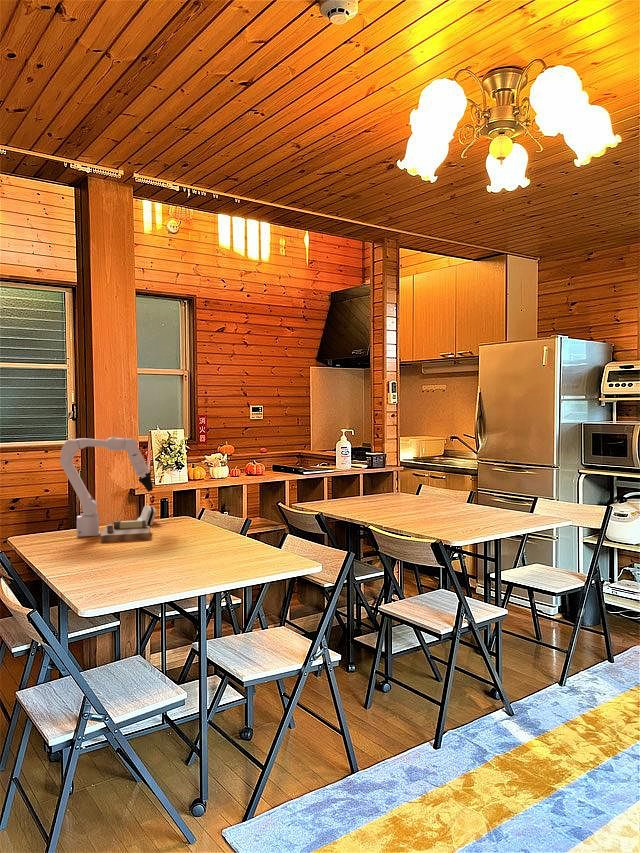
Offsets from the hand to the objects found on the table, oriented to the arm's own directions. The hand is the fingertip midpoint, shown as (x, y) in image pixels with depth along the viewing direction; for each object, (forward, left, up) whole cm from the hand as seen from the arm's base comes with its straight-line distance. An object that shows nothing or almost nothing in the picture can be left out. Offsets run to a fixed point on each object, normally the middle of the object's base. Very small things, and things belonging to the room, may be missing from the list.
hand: (150, 489), depth 304 cm
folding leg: (-9, -6, -16) cm, 20 cm away
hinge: (-3, +21, -20) cm, 28 cm away
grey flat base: (-11, -12, -19) cm, 25 cm away
